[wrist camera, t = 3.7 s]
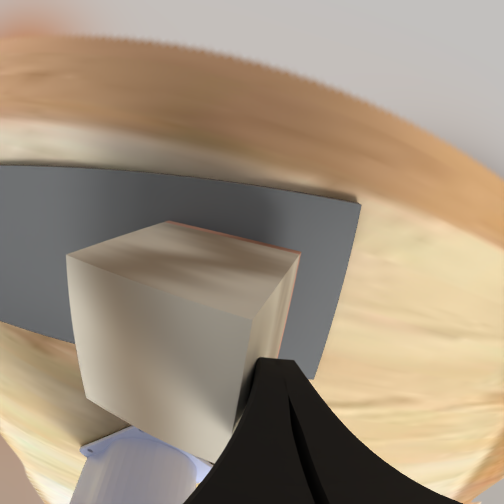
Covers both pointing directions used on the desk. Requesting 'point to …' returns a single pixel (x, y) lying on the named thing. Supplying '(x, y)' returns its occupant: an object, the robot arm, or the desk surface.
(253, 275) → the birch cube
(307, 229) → the rubber mat
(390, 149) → the desk surface
